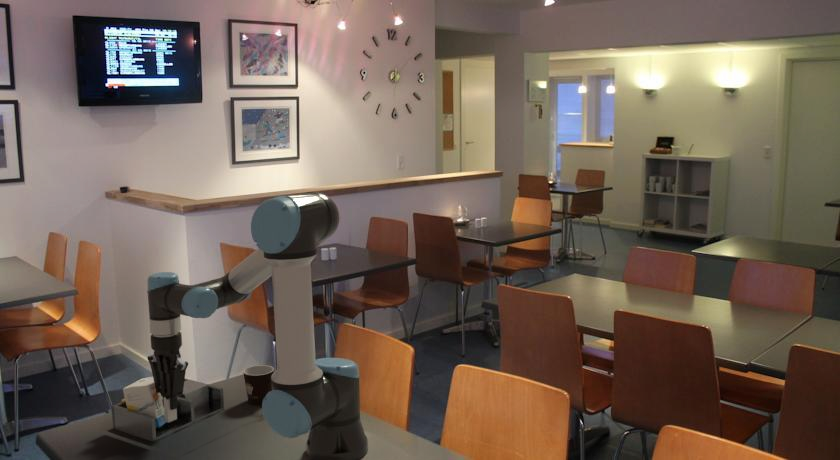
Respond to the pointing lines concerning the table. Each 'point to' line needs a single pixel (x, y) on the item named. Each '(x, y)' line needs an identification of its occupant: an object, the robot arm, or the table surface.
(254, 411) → the table surface
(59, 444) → the table surface
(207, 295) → the robot arm
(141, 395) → the ink box
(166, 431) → the grey compartment tray
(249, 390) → the coffee mug
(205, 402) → the light grey block
